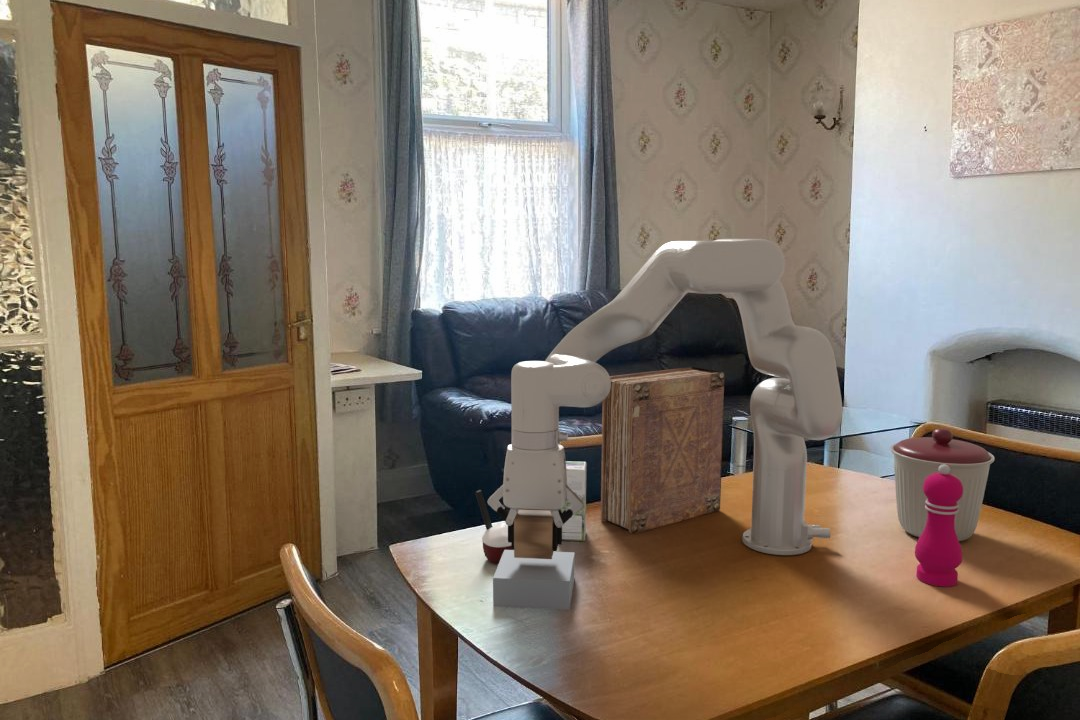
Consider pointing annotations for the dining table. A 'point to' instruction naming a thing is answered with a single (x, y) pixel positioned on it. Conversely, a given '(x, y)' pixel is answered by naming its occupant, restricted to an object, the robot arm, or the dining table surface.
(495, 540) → the cocoa
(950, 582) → the pepper mill
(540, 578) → the grey block
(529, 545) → the walnut cube
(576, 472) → the syrup box
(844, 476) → the dining table surface
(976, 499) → the canister
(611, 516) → the book
